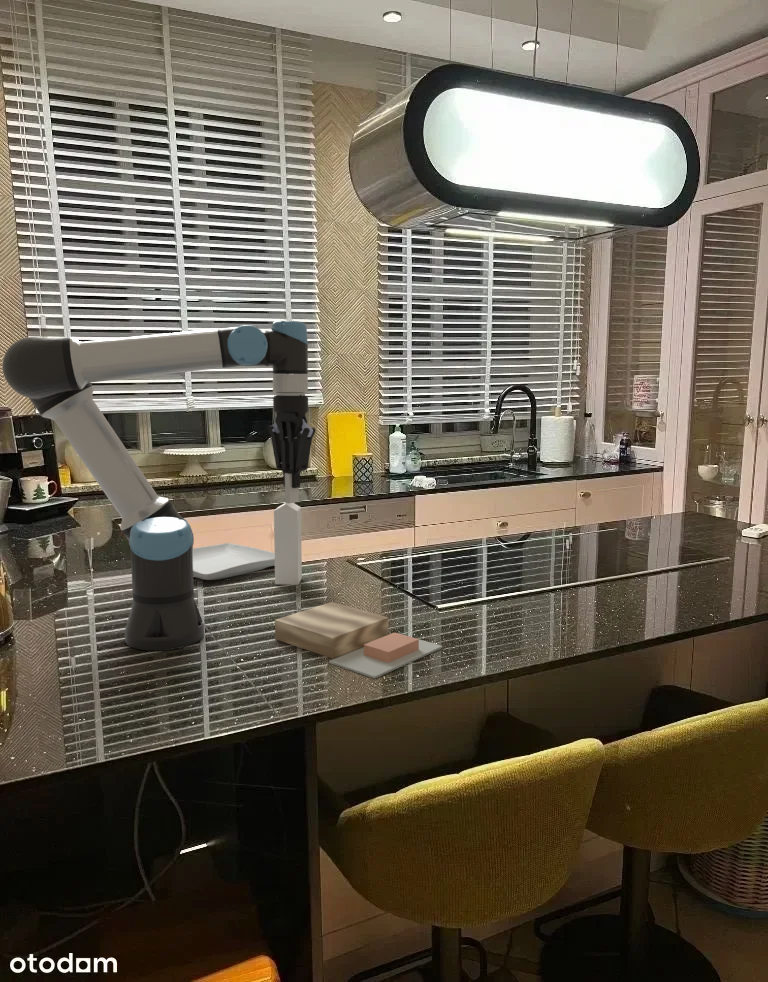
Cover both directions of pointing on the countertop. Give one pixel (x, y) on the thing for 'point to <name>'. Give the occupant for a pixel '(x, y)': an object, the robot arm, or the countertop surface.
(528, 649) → the countertop surface
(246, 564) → the square plate
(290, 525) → the milk
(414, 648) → the pink block
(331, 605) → the board
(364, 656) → the mat
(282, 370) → the robot arm
